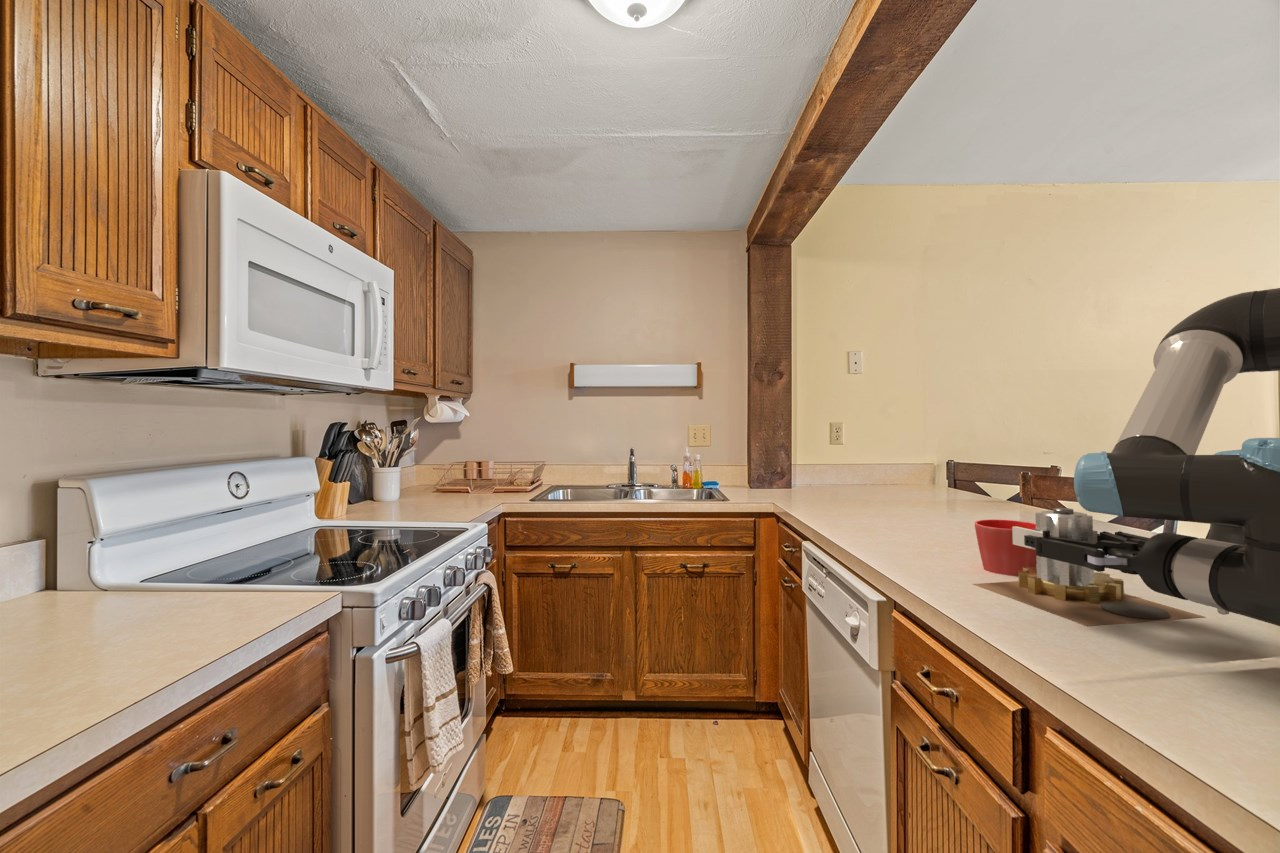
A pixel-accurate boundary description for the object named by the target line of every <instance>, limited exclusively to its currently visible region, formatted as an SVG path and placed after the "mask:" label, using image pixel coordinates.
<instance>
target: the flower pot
mask: <svg viewBox="0 0 1280 853" xmlns="http://www.w3.org/2000/svg"><path fill="white" fill-rule="evenodd" d="M1016 526H1017V527H1022V528H1026V529H1031V530H1035V531H1036V523H1035V522H1034V523H1033V522H1029V521H1028V522H1027V521H1021V520H1013V519H979V520H976V521H975V522H974V530H975V535H976V539H977V545H978V550H979V554H980V559H981V563H982V566H983V570H985V571H987V572H989V573H994V574H997V575H1003V576H1013V577H1015V576H1016V577H1018V571H1023V567H1033V568H1037V558H1036V550H1033V549H1030V548H1026V547H1022V546H1018V545H1014V544H1013V533H1012V527H1016Z"/></svg>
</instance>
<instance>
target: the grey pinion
mask: <svg viewBox="0 0 1280 853" xmlns="http://www.w3.org/2000/svg"><path fill="white" fill-rule="evenodd" d="M1093 521H1094V519H1093V515H1088V513H1084V512H1079V511H1074V509H1073V508H1067V507H1053V510H1041V512H1035V524H1036V531H1040V532H1043V531H1050V534H1052V536H1053V537H1060V538H1067V539H1074V540H1081V541H1088V542H1093V530H1094V526H1093ZM1036 558H1037V564H1036V568H1037V578H1041V580H1042V581H1045V582H1050V583H1054V584H1059V585H1066V586H1089V583H1091V584H1094V572H1095V570H1092V569H1090V568H1087V567H1084V566H1079V565H1075V564H1071V563H1066V562H1062V561H1058V560H1054V559H1049V558H1045V557H1039V556H1037V555H1036Z"/></svg>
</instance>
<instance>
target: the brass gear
mask: <svg viewBox="0 0 1280 853" xmlns="http://www.w3.org/2000/svg"><path fill="white" fill-rule="evenodd" d="M1017 577H1018V581H1019V587H1021V588H1028V592H1029V593H1032V594H1035V595H1037V594H1042V595H1046V596H1051V597H1055V599H1056V600H1063V601H1066V600H1067V599H1068V600H1077V601H1086V602H1088V603H1096V604H1099V601H1112V602H1120V601H1121V597H1124V594H1125V593H1124V592H1125V591H1124V590H1125V588H1124V587H1125V586H1124V583H1125V582H1124V580H1123V579H1121V578H1113V577H1111V574H1109V573H1106V572H1102V571H1101V572H1095V571H1094V584H1091V583H1089V586H1066V585H1059V584H1054V583H1050V582H1045V581H1042V580H1041V578H1037V567H1036V568H1033V567H1023V571H1018V576H1017Z"/></svg>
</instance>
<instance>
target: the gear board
mask: <svg viewBox="0 0 1280 853" xmlns="http://www.w3.org/2000/svg"><path fill="white" fill-rule="evenodd" d="M972 585H973V586H976V587H979V588H982V589H984V590H987V591H989V592H992V593H996V594H997V595H1001V596H1003V597H1006V598H1008V599H1011V600H1014V601H1017V602H1019V603H1022V604H1025V605H1027V606H1031V607H1034V608H1036V609H1039V610H1040V611H1041V610H1042V611H1044V612H1047V613H1050V614H1052V615H1055V616H1058V617H1059V618H1063V619H1066V620H1069V621H1071V622H1074V623H1076V624H1080V625H1083V626H1084V627H1095V626H1096V627H1097V626H1098V627H1099V626H1108V625H1110V626H1111V625H1124V624H1135V623H1136V624H1137V623H1150V622H1161V621H1162V622H1163V621H1164V622H1165V621H1176V620H1190V619H1203V618H1204V619H1205V618H1206V616H1203V615H1200V614H1196V613H1193V612H1190V611H1185V610H1182V609H1181V608H1180V609H1178V608H1175V607H1173V606H1169V605H1166V604H1162V603H1158V602H1155V601H1151V600H1147V599H1144V598H1140V597H1137V596H1134V595H1131V594H1128V593H1124V597H1121V601H1120V602H1112V601H1099V604H1096V603H1088V602H1086V601H1077V600H1068V599H1067V600H1066V601H1063V600H1056V599H1055V597H1051V596H1046V595H1042V594H1037V595H1035V594H1032V593H1029V592H1028V588H1021V587H1019V580H1017V581H1016V580H1015V581H1014V580H1013V581H999V582H998V581H997V582H983V583H972Z"/></svg>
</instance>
